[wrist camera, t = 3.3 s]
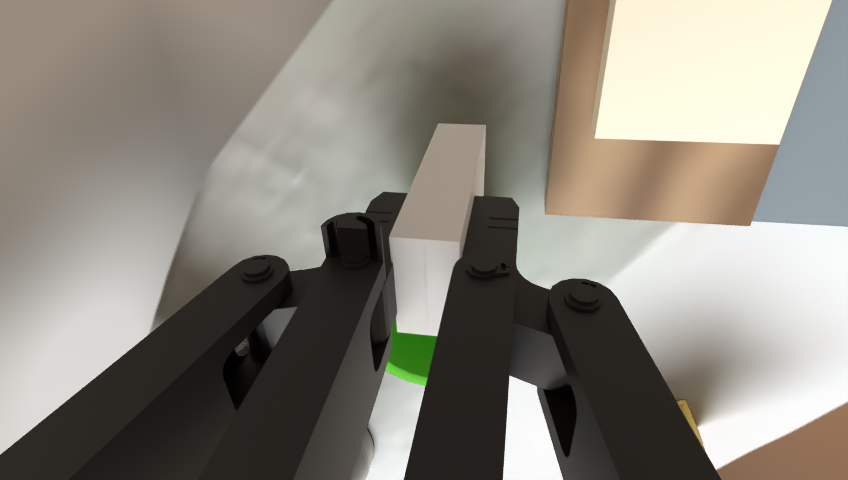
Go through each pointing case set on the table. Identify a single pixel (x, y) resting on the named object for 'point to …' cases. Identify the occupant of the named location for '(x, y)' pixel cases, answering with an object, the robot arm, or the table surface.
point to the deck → (639, 151)
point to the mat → (815, 139)
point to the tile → (704, 68)
